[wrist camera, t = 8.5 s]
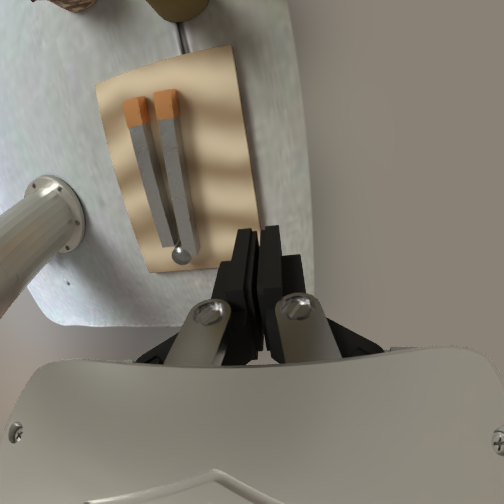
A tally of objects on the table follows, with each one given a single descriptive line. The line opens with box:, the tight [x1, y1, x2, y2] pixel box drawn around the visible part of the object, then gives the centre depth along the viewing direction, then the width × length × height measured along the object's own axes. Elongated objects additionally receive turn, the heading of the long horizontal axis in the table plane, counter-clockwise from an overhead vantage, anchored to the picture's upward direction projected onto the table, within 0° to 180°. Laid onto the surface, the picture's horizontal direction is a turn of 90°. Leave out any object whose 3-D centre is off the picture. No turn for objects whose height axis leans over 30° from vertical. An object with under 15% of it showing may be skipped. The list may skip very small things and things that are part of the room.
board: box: [95, 45, 261, 273], centre depth 31 cm, size 26×16×1 cm, turn 8°
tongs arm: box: [153, 89, 201, 265], centre depth 30 cm, size 20×3×2 cm, turn 4°
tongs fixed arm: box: [122, 96, 179, 248], centre depth 29 cm, size 18×2×2 cm, turn 8°
